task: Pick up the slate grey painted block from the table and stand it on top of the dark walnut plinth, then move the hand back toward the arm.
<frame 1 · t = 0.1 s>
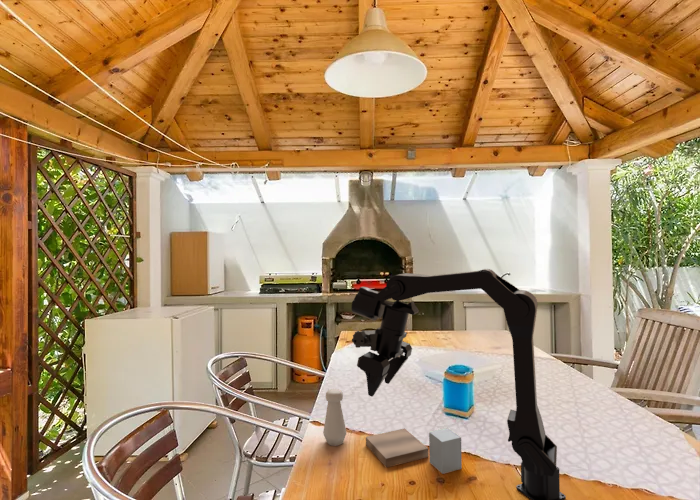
hand: (379, 389, 95), 15 cm above the table, tool pointing down, fingers open, 9 cm apart
salt shaker: (335, 442, 101), on the table
walnut plinth: (396, 450, 96), on the table
slate block: (445, 465, 90), on the table
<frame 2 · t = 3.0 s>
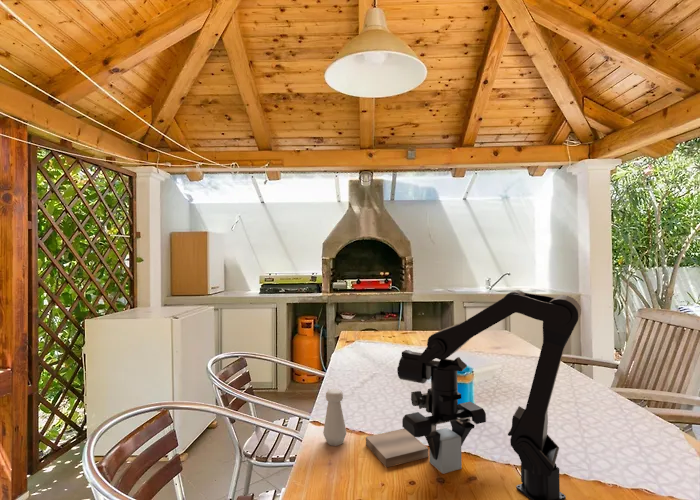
hand: (445, 456, 90), 2 cm above the table, tool pointing down, fingers closed on slate block, 5 cm apart
slate block: (445, 465, 90), on the table, touching gripper
everything else where it was.
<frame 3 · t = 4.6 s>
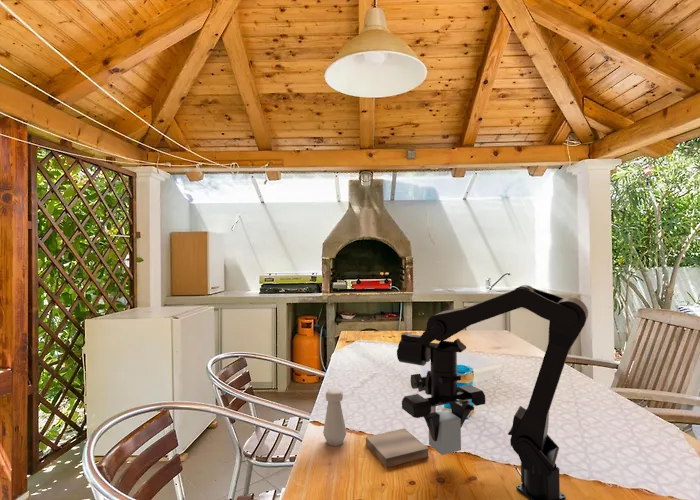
hand: (444, 438, 90), 6 cm above the table, tool pointing down, fingers closed on slate block, 5 cm apart
slate block: (444, 447, 90), point 4 cm above the table, touching gripper
everything else where it was.
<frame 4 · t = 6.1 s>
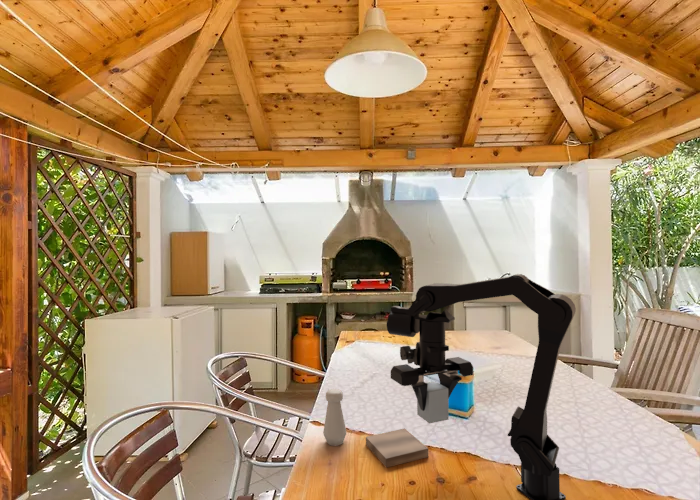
hand: (432, 408, 91), 12 cm above the table, tool pointing down, fingers closed on slate block, 5 cm apart
slate block: (432, 416, 91), point 10 cm above the table, touching gripper
everything else where it was.
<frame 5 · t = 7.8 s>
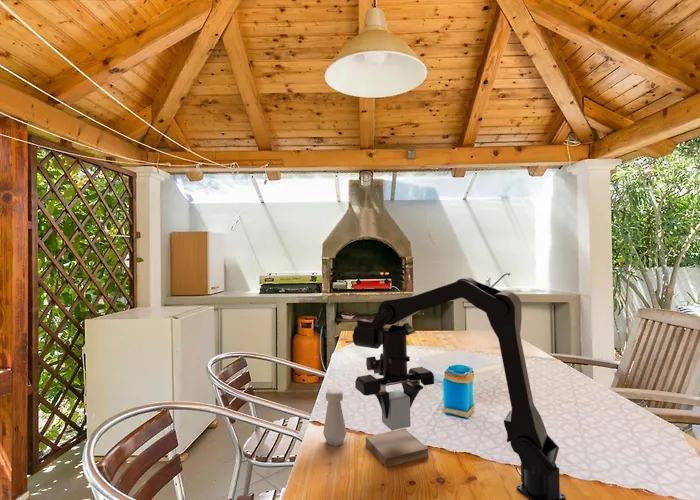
hand: (395, 415, 96), 8 cm above the table, tool pointing down, fingers closed on slate block, 5 cm apart
slate block: (396, 424, 96), point 6 cm above the table, touching gripper
everything else where it was.
when the fingers open (5 cm above the table, at t = 9.2 s): slate block drops 1 cm, resting on walnut plinth.
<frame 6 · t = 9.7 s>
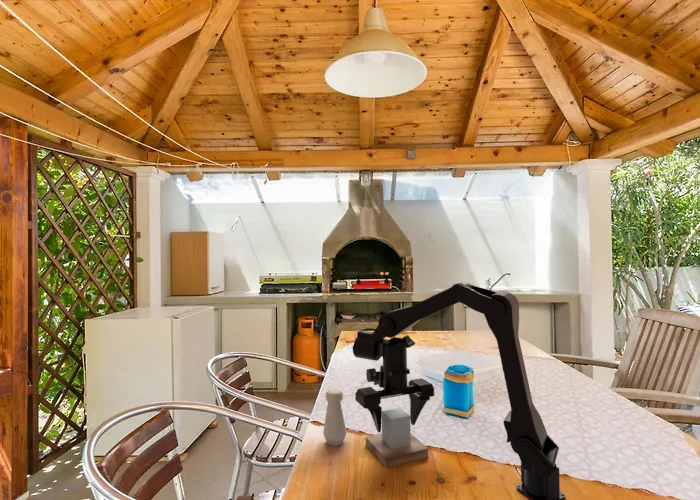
hand: (395, 428, 96), 5 cm above the table, tool pointing down, fingers open, 9 cm apart
slate block: (396, 442, 96), point 2 cm above the table, touching walnut plinth
everything else where it was.
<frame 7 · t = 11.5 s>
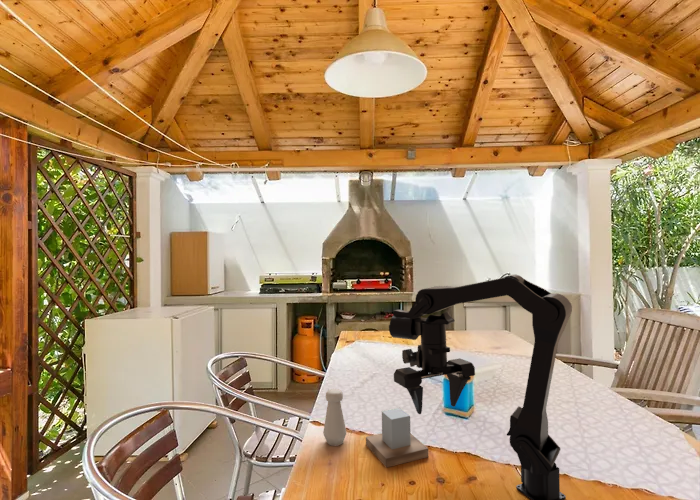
hand: (436, 409, 92), 11 cm above the table, tool pointing down, fingers open, 9 cm apart
nothing on the table moved.
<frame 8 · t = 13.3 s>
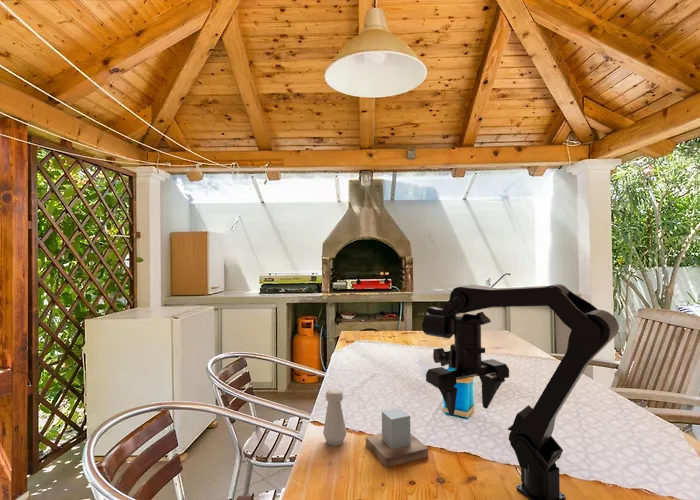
hand: (468, 411, 90), 12 cm above the table, tool pointing down, fingers open, 9 cm apart
nothing on the table moved.
at the end: slate block 0.0 cm off-centre on the walnut plinth, point 2.0 cm above the walnut plinth's base; slate block tilted 0°; the gripper is holding nothing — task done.
